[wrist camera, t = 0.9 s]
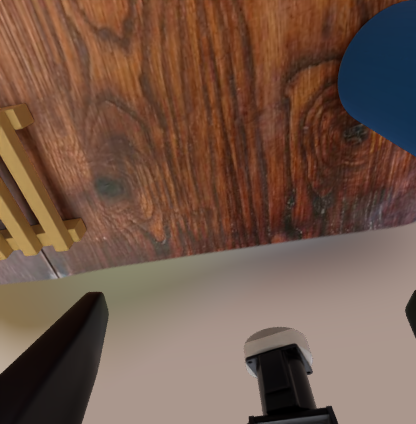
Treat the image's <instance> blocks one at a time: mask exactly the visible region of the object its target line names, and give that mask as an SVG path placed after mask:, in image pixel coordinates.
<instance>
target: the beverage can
mask: <svg viewBox="0 0 416 424" xmlns="http://www.w3.org/2000/svg"><path fill="white" fill-rule="evenodd" d="M338 92H339V97H340V100H341V103H342V105H343V106H344V108H345V110H346V111H347V112H348V114H349V115H350V116H352V117H353V118H354V119H356V120H357V121H359V122H360V123H362V124H364V125H365V126H367V127H369V128H370V129H372V130H373V131H375V132H377V133H378V134H380V135H381V136H383V137H385V138H386V139H388V140H390V141H391V142H393V143H394V144H396V145H398V146H399V147H401V148H402V149H404V150H406V151H407V152H409V153H411V154H412V155H414V156H415V157H416V0H409V1H403V2H400V3H397V4H394V5H392V6H390V7H388V8H386V9H384V10H383V11H381V12H379V13H378V14H376V15H375V16H374V17H373V18H371V19H370V20H369V21H368V22H367V23H366V24H365V25H364V26H363V27H362V28H361V29H360V30H359V31H358V32H357V34H356V35H355V36H354V38H353V39H352V41H351V42H350V44H349V46H348V48H347V49H346V51H345V54H344V56H343V58H342V62H341V65H340V69H339V74H338Z"/></svg>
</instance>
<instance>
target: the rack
mask: <svg viewBox="0 0 416 424" xmlns="http://www.w3.org/2000/svg"><path fill="white" fill-rule="evenodd" d="M33 122H34V120H33V118H32V116H31V114H30V112H29V110H28V108H27V105H26V104H25V103H24V104H18V105H13V106H8V107H2V108H0V155H1V157H2V159H3V161H4V162H5V164H6V166H7V167H8V169H9V171H10V173H11V174H12V176H13V178H14V179H15V181H16V183H17V185H18V186H19V188H20V190H21V191H22V193H23V195H24V197H25V198H26V200H27V202H28V204H29V205H30V207H31V209H32V210H33V212H34V214H35V216H36V217H37V219H38V221H39V222H40V224H39V225H32V226H30V224H29V223H28V221H27V219H26V218H25V216H24V214H23V213H22V211H21V209H20V208H19V206H18V205H17V203H16V201H15V200H14V198H13V196H12V195H11V193H10V191H9V190H8V188H7V186H6V185H5V183H4V181H3V180H2V178H1V177H0V219H1V220H2V222H3V223H4V225H5V226H6V228H7V229H5V230H0V260H3V259H7V258H8V256H9V255H10V254H11V253H12V252H13V251H14V250H22V252H23V254H24V255H25V256H31V255H37V254H38V253H39V251H40V250H41V249H42V247H43V246H49V245H53V246H54V248H55V250H56V251H57V252H60V251H67V250H69V249H70V247H71V246H72V244H73V242H77V241H80V240H81V239H82V237H83V235H84V234H85V232H86V230H87V229H86V227H85V225H84V223H83V221H82V219H81V218H78V219H72V220H65V221H62V219H61V217H60V215H59V213H58V212H57V210H56V208H55V206H54V204H53V202H52V200H51V198H50V196H49V195H48V193H47V191H46V189H45V187H44V185H43V183H42V181H41V179H40V178H39V176H38V174H37V172H36V170H35V168H34V166H33V164H32V162H31V161H30V159H29V157H28V155H27V153H26V151H25V149H24V147H23V145H22V144H21V142H20V140H19V138H18V136H17V134H16V132H15V130H18V129H23V128H24V127H26V126H28V125H30V124H32V123H33Z"/></svg>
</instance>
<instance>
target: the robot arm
mask: <svg viewBox="0 0 416 424" xmlns="http://www.w3.org/2000/svg"><path fill="white" fill-rule="evenodd" d="M405 312H406V316H407V319H408V321H409V323H410V326H411V328H412V331H413V333H414V335H415V338H416V290H415V291H414V293H413V294H412V296H411V298H410V300H409V302H408V304H407V306H406V309H405ZM108 315H109V314H108V308H107V304H106V301H105V297H104V294H103V293H102V292H88V293H86V294H85V295H84V296H83V297H82V298H81V299H80V300H79V301H78V302H76V303H75V304H74V305H73V306H72V307H71V308H70V309H69V310H68V311H67V312H66V313H65V314H64V315H63V316H62V317H61V318H60V319H58V320H57V321H56V322H55V323H54V324H53V325H52V326H51V327H50V328H49V329H48V330H47V331H46V332H45V333H44V334H43V335H42V336H40V337H39V338H38V339H37V340H36V341H35V342H34V343H33V344H32V345H31V346H30V347H29V348H28V349H27V350H26V351H25V352H23V353H22V354H21V355H20V356H19V357H18V358H17V359H16V360H15V361H14V362H13V363H12V364H11V365H10V366H9V367H8V368H7V369H6V370H4V371H3V372H2V373H1V374H0V424H82V421H83V418H84V414H85V411H86V408H87V405H88V401H89V398H90V395H91V392H92V388H93V385H94V382H95V379H96V375H97V372H98V367H99V363H100V357H101V353H102V347H103V342H104V337H105V332H106V327H107V322H108ZM245 361H246V364H247V365H248V366H249V368H250V369H251V370H252V371H253V373H254V374H255V375H256V376H257V378H258V385H259V391H260V398H261V404H262V411H263V416H256V417H254V416H249V423H248V424H338V422H337V419H336V417H335V414H334V411H333V409H332V406H327V407H326V408H319V409H317V408H316V405H315V401H314V397H313V394H312V391H311V387H310V384H309V380H308V377H307V375H310V374H312V372H313V371H312V369H311V366H310V365H309V363H308V361H307V360H306V358H305V356H304V355H303V353H302V351H301V350H300V348H299V346H298V345H297V344H296V343H293V344H289V345H286V346H282V347H279V348H276V349H272V350H269V351H266V352H262V353H259V354H256V355H252V356H249V357H246V359H245Z"/></svg>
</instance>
